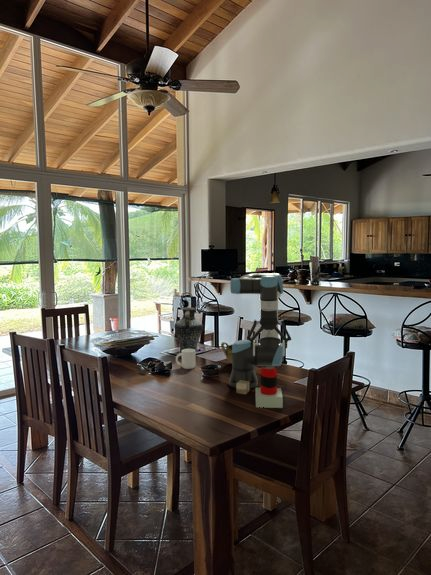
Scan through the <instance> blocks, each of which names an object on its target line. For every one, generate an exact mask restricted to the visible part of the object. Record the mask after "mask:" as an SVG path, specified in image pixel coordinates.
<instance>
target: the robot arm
mask: <svg viewBox="0 0 431 575" xmlns="http://www.w3.org/2000/svg"><path fill="white" fill-rule="evenodd" d="M283 285H284V284H283V278H282V274H280V273H277V272H276V273H275V272H272V273H269V272H266V273H265V272H263V273H261V272H258V273H257V272H255V273H254V272H252V273H248V274H244V275H242V276H240V277H236V278H235V277H234V278H231V279H230V287H229V288H230V289H229V290H230V293H231V294H234V295H235V294H236V295H244V294H245V295H250V294H251V295H252V294H253V295H259V297H260V309H261V310H260V320H258V319H254V320H253V324H252V326H251V328H250V330H249V332H248V334H247V336H246V339H241V340H237V341H235V342H233V343H232V344H233V346H232V364H231V365H232V366H231V368H232V369H231V373H230V376H229V380H228V385H229V387H231V388H234V389H236V383H237V382H239V381H240V380H242V381H249V390H250V389H254V388H257V387H258V385H259V380H258V376H257V373H256V370H255V366H257V367H259V366H261V367H263V366H266V365H270V366H274V367H279V366H281V365H282V362H283V357H285V356H286V352H285V350H286V349H288V342H289V341H292V337H291V334H290V333H289V331H288V330H287V327H286V325H285V321H284V319H281V320H279V299H280V298H281V297H282V295H283V294H284V286H283ZM258 325H260V326H259V328H258V330H257V331H256V332H255V333H254V331H255V329H256V327H257V326H258ZM279 325H280V326H281V327H282V329H283V331H284V333H285V335H286V336H285V335H284V333H283V332H282V331H281V330H280V329H279ZM253 333H254V334H253ZM260 334H261V337H260V338H259V339H258V342H256V343H255V340H256V338H258V336H259V335H260ZM279 336H280V337H281V338H280V337H279ZM254 339H255V340H254ZM281 339H282V340H281Z"/></svg>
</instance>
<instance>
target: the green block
mask: <svg viewBox="0 0 431 575" xmlns="http://www.w3.org/2000/svg"><path fill="white" fill-rule="evenodd" d="M283 402H284V399H283V392H282V387H277V393H276V394H274V395H265V394H262V393H261V387H255V408H259V407H260V408H263V407H264V408H265V409H266V408H267V409H268V408H269V409H274V408H275V409H276V408H277V409H283V407H284V406H283V405H284V404H283ZM260 408H259V409H260Z"/></svg>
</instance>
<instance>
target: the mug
mask: <svg viewBox="0 0 431 575" xmlns="http://www.w3.org/2000/svg"><path fill="white" fill-rule="evenodd" d="M179 357H181V362H179ZM175 364H177V365H179V366H181V367H182V369H185V370H189V369H190V370H191V369H194V368H196V351H195V350H194V349H183V350H182V351H180V352H179V353H177V355H176V356H175Z"/></svg>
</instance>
